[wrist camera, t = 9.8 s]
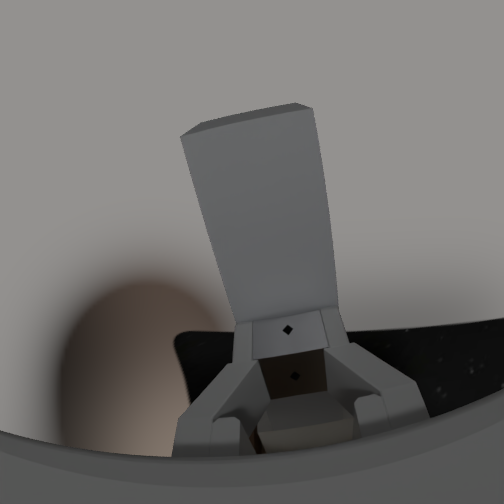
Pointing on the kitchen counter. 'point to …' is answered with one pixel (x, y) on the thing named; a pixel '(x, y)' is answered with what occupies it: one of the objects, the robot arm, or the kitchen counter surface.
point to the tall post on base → (271, 242)
